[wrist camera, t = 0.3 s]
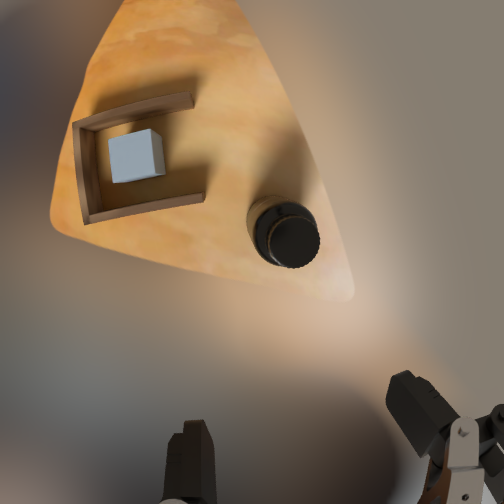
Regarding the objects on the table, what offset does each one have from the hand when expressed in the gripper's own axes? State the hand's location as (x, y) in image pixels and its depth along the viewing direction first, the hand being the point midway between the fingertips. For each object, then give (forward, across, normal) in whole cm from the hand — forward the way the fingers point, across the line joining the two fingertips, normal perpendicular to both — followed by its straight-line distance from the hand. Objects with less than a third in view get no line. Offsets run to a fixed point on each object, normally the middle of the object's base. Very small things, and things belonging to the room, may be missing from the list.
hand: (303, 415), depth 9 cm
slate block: (+28, +11, -13) cm, 33 cm away
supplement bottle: (+28, -4, -3) cm, 28 cm away
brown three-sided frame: (+28, +11, -13) cm, 33 cm away
